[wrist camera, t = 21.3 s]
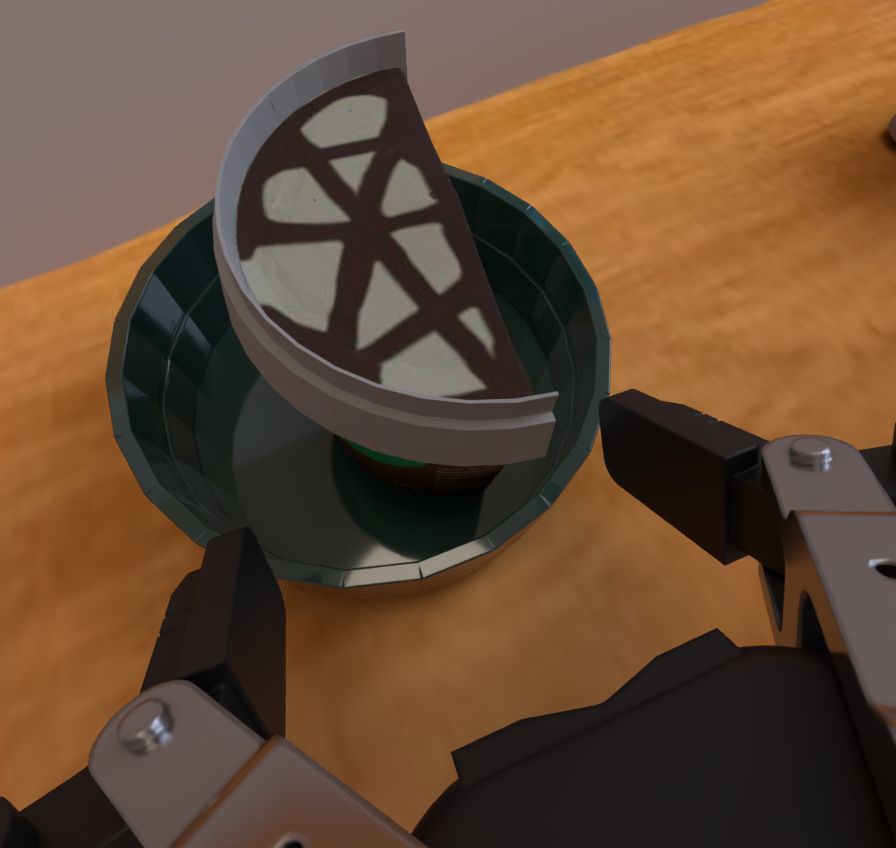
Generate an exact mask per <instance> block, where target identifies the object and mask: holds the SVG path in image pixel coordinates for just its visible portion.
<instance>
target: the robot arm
mask: <svg viewBox="0 0 896 848" xmlns="http://www.w3.org/2000/svg"><path fill="white" fill-rule="evenodd" d="M598 411H599V420H600V429H601V437H602V446H603V454H604V461H605V465H606V468H607V470H608V472H609V474H610V476H611V477H612V479H613V480H614V481H615V482H616V483H617V484H618V485H619V486H620V487H622V488H623V489H624V490H626V491H627V492H628V493H630V494H631V495H632V496H634V497H635V498H636V499H638V500H639V501H640V502H642V503H643V504H644V505H645V506H647V507H648V508H649V509H651V510H652V511H653V512H655V513H656V514H657V515H659V516H660V517H661V518H663V519H664V520H665V521H667V522H668V523H669V524H671V525H672V526H673V527H675V528H676V529H677V530H679V531H680V532H681V533H682V534H684V535H685V536H686V537H688V538H689V539H690V540H692V541H693V542H694V543H696V544H697V545H698V546H700V547H701V548H702V549H704V550H705V551H706V552H708V553H709V554H710V555H712V556H713V557H714V558H716V559H717V560H718V561H719V562H721V563H722V564H723V565H727V564H730V563H732V562H734V561H736V560H739V559H741V558H743V557H746V556H748V555H750V556H751V557H753V558H754V559H756V560H757V561H759V569H758V572H759V578H760V582H761V586H762V591H763V595H764V599H765V603H766V607H767V612H768V616H769V620H770V624H771V628H772V632H773V637H774V641H775V645H776V646H765V645H763V646H748V647H739V648H738V647H737V646H736V645H735V644H734V643H733V642H732V641H731V640H730V639H729V638H728V637H726V636H725V635H724V634H723V633H722V632H721V631H720V630H719V629H718V628H716V629H714V630H712V631H709V632H707V633H705V634H703V635H701V636H699V637H697V638H695V639H692V640H690V641H688V642H686V643H684V644H682V645H680V646H677V647H675V648H673V649H671V650H669V651H667V652H665V653H662V654H660V655H658V656H656V657H655V658H654V659H653V660H652V661H651V662H650V663H648V664H647V665H646V666H645V667H644V668H643V669H642V670H640V671H639V672H638V673H637V674H636V675H635V676H634V677H633V678H631V679H630V680H629V681H628V682H627V683H626V684H625V685H623V686H622V687H621V688H620V689H619V690H618V691H617V692H615V693H614V694H613V695H612V696H611V697H610V698H609V699H607V700H606V701H605V702H603V703H601V704H598V705H594V706H589V707H584V708H579V709H573V710H568V711H563V712H558V713H552V714H547V715H542V716H536V717H531V718H526V719H521V720H519V721H517V722H515V723H512V724H510V725H508V726H506V727H504V728H502V729H500V730H498V731H495V732H493V733H491V734H489V735H487V736H485V737H483V738H480V739H478V740H476V741H474V742H472V743H470V744H468V745H465V746H463V747H461V748H459V749H457V750H455V751H453V752H451V755H452V758H453V761H454V764H455V767H456V771H457V774H458V777H459V779H457V780H456V781H455V782H454V783H453V784H452V785H451V786H449V787H448V788H447V789H446V790H445V791H444V792H443V793H442V794H441V795H440V796H439V798H438V799H437V800H436V801H435V802H434V803H433V804H432V805H431V806H430V808H429V809H428V810H427V812H426V813H425V814H424V816H423V817H422V819H421V820H420V821H419V823H418V824H417V825H416V827H415V829H414V830H413V832H412V834H410V833H409V832H407V831H406V830H405V829H403V828H402V827H401V826H399V825H398V824H397V823H395V822H394V821H393V820H392V819H390V818H389V817H388V816H386V815H385V814H384V813H382V812H381V811H380V810H378V809H377V808H376V807H374V806H373V805H372V804H370V803H369V802H368V801H367V800H365V799H364V798H363V797H361V796H360V795H359V794H357V793H356V792H355V791H353V790H352V789H351V788H349V787H348V786H347V785H346V784H344V783H343V782H342V781H340V780H339V779H338V778H336V777H335V776H334V775H332V774H331V773H330V772H328V771H327V770H326V769H325V768H323V767H322V766H321V765H319V764H318V763H317V762H315V761H314V760H313V759H311V758H310V757H309V756H307V755H306V754H305V753H304V752H302V751H301V750H300V749H298V748H297V747H296V746H294V745H293V744H292V743H290V742H289V741H288V740H286V739H285V735H286V610H285V604H284V600H283V596H282V593H281V590H280V587H279V585H278V583H277V581H276V578H275V576H274V574H273V572H272V570H271V568H270V566H269V564H268V562H267V560H266V558H265V556H264V553H263V551H262V549H261V547H260V545H259V543H258V541H257V539H256V537H255V535H254V533H253V531H252V530H251V529H250V528H249V527H248V526H246V527H243V528H240V529H237V530H234V531H231V532H229V533H226V534H223V535H220V536H217V537H215V538H212V539H209V541H208V543H207V546H206V550H205V554H204V558H203V561H202V565H201V569H198V570H195V571H193V572H190V573H188V574H187V575H186V576H185V578H184V579H183V580H182V582H181V583H180V584H179V585H178V587H177V588H176V589H175V591H174V592H173V593H172V594H171V597H170V600H169V604H168V607H167V610H166V613H165V617H166V618H165V619H163V622H162V625H161V628H160V632H159V633H160V636H159V637H158V638H157V641H156V644H155V647H154V650H153V653H152V656H151V660H150V663H149V666H148V669H147V672H146V675H145V678H144V681H143V684H142V688H141V691H140V694H139V695H138V696H136V697H135V698H133V699H132V700H131V701H129V702H128V703H127V704H125V705H124V706H123V707H122V708H121V709H120V710H119V711H118V712H117V713H116V714H115V715H114V716H113V717H112V718H111V719H110V720H109V721H108V722H107V724H106V725H105V726H104V727H103V729H102V730H101V732H100V733H99V735H98V736H97V738H96V740H95V742H94V744H93V746H92V748H91V751H90V754H89V760H88V766H87V767H85V768H84V769H83V770H81V771H80V772H79V773H77V774H76V775H74V776H73V777H72V778H70V779H69V780H67V781H65V782H64V783H62V784H61V785H59V786H58V787H56V788H55V789H53V790H52V791H50V792H49V793H47V794H46V795H44V796H43V797H41V798H40V799H38V800H37V801H35V802H34V803H32V804H31V805H29V806H28V807H26V808H25V809H23V810H22V811H20V812H19V811H18V810H17V809H16V808H15V807H14V806H13V805H12V804H11V803H10V802H9V801H8V800H7V799H5V798H4V797H0V848H896V423H895V428H894V434H893V441H892V445H888V446H882V447H876V448H870V449H863V450H857V449H856V448H854V447H853V446H852V445H850V444H848V443H846V442H843V441H841V440H838V439H834V438H830V437H825V436H819V435H790V436H784V437H780V438H777V439H774V440H772V441H767V440H765V439H763V438H760V437H758V436H756V435H753V434H751V433H749V432H746V431H744V430H742V429H739V428H737V427H735V426H732V425H730V424H728V423H725V422H723V421H719V422H718V420H717V419H716V418H714V417H711V416H709V415H707V414H705V415H703V414H702V412H700V411H697V410H695V409H693V408H690V407H688V406H686V405H683V404H677V403H671V402H665V401H660V400H658V399H656V398H654V397H651V396H649V395H647V394H645V393H642V392H640V391H638V390H635V389H629V390H627V391H624V392H621V393H618V394H615V395H612V396H610V397H607V398H604V399H602V400H601V401H600V403H599V407H598Z"/></svg>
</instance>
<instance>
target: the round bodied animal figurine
mask: <svg viewBox="0 0 896 848" xmlns="http://www.w3.org/2000/svg"><path fill="white" fill-rule="evenodd" d="M889 133H890V135H891V137H892V138H893V140H894V141H895V142H896V114H895V115H894V116H893V118H892V119H891V121H890V123H889Z"/></svg>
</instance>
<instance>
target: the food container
mask: <svg viewBox="0 0 896 848" xmlns="http://www.w3.org/2000/svg"><path fill="white" fill-rule="evenodd" d="M213 241H214V253H215V258H216V262H217V267H218V271H219V276H220V280H221V285H222V289H223V294H224V298H225V301H226V305H227V309H228V312H229V316H230V320H231V323H232V326H233V328H234V330H235V332H236V334H237V336H238V338H239V340H240V342H241V344H242V346H243V348H244V350H245V352H246V354H247V356H248V357H249V359H250V360H251V361H252V363H253V364H254V365H255V367H256V368H257V369H258V370H259V372H260V373H261V374H262V376H263V377H264V378H265V379H266V381H267V382H268V383H269V385H270V386H271V387H272V388H274V389H275V390H276V391H277V392H278V393H279V394H280V395H281V396H282V397H284V398H285V399H286V400H287V401H288V402H289V403H290V404H291V405H292V406H294V407H295V408H296V409H297V410H298V411H299V412H301V413H302V414H304V415H305V416H307V417H309V418H310V419H312V420H313V421H315V422H316V423H318V424H320V425H321V426H323V427H324V428H326V429H328V430H329V431H331V432H332V433H334V434H335V435H336V436H337V438H338V439H339V441H340V442H341V444H342V445H343V446H344V448H345V449H346V450H347V451H348V452H349V454H350V455H351V456H352V457H353V459H354V460H355V461H357V462H358V463H359V464H360V465H361V466H362V467H364V468H365V469H366V470H367V471H368V472H370V473H371V474H373V475H375V476H376V477H378V478H379V479H381V480H383V481H384V482H387V483H389V484H391V485H394V486H396V487H399V488H401V489H404V490H408V491H412V492H416V493H420V494H427V495H438V496H451V495H465V494H469V493H474V492H479V491H483V490H486V488H487V487H488V486H489V485H490V483H491V482H492V481H493V480H494V479H495V477H496V476H497V475H498V474H499V473H500V471H501V470H502V469H503V468H504V467H505V465H506V464H511V463H516V462H521V461H527V460H532V459H537V458H542V457H546V453H547V450H548V446H549V443H550V440H551V436H552V433H553V429H554V426H555V423H556V420H555V417H554V415H553V413H552V409H553V407H554V405H555V403H556V401H557V398H558V396H559V394H558V391H557V392H551V393H545V394H539V395H534V392H533V390H532V388H531V384H530V380H529V376H528V373H527V372H526V370H525V369H524V367H523V365H522V364H521V362H520V360H519V358H518V356H517V353H516V351H515V349H514V347H513V345H512V342H511V340H510V337H509V334H508V332H507V329H506V327H505V324H504V322H503V319H502V316H501V314H500V311H499V309H498V306H497V304H496V301H495V298H494V295H493V293H492V290H491V287H490V285H489V282H488V279H487V276H486V274H485V271H484V268H483V266H482V263H481V260H480V257H479V254H478V251H477V248H476V245H475V242H474V239H473V236H472V233H471V230H470V228H469V225H468V222H467V219H466V216H465V213H464V210H463V208H462V205H461V202H460V199H459V197H458V195H457V193H456V191H455V189H454V187H453V184H452V182H451V180H450V178H449V176H448V174H447V172H446V171H445V169H444V167H443V165H442V163H441V161H440V159H439V156H438V154H437V152H436V150H435V148H434V146H433V144H432V141H431V139H430V137H429V134H428V132H427V130H426V127H425V125H424V122H423V120H422V117H421V115H420V112H419V110H418V107H417V105H416V103H415V100H414V98H413V95H412V93H411V90H410V88H409V85H408V83H407V66H406V48H405V32H404V30H400V31H395V32H390V33H384V34H379V35H374V36H371V37H368V38H364V39H361V40H358V41H354V42H351V43H348V44H345V45H342V46H340V47H338V48H335V49H333V50H331V51H329V52H326V53H324V54H322V55H319V56H317V57H315V58H313V59H312V60H310V61H308V62H307V63H305V64H303V65H302V66H300V67H298V68H297V69H295V70H294V71H292V72H290V73H289V74H287V75H286V76H285V77H284V78H282V79H281V80H280V81H279V82H277V83H276V84H275V85H274V86H273V87H271V88H270V89H269V90H268V91H266V92H265V93H264V95H263V96H262V97H261V98H260V99H259V100H258V101H257V102H256V103H255V104H254V106H253V107H252V108H251V109H250V110H249V111H248V112H247V113H246V114H245V116H244V118H243V119H242V121H241V122H240V124H239V126H238V127H237V129H236V130H235V132H234V134H233V135H232V137H231V139H230V140H229V143H228V146H227V148H226V151H225V154H224V156H223V159H222V161H221V164H220V167H219V172H218V179H217V185H216V191H215V207H214V213H213Z"/></svg>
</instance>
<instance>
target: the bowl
mask: <svg viewBox="0 0 896 848" xmlns="http://www.w3.org/2000/svg"><path fill="white" fill-rule="evenodd" d="M442 165H443V167H444V169H445V171H446V172H447V174H448V176H449V178H450V180H451V182H452V184H453V187H454V189H455V191H456V193H457V195H458V197H459V199H460V202H461V205H462V208H463V210H464V213H465V216H466V219H467V222H468V225H469V228H470V230H471V233H472V236H473V239H474V242H475V245H476V248H477V251H478V254H479V257H480V260H481V263H482V266H483V268H484V271H485V274H486V276H487V279H488V282H489V285H490V287H491V290H492V293H493V295H494V298H495V301H496V304H497V306H498V309H499V311H500V314H501V316H502V319H503V322H504V324H505V327H506V329H507V332H508V334H509V337H510V340H511V342H512V345H513V347H514V349H515V351H516V353H517V356H518V358H519V360H520V362H521V364H522V365H523V367H524V369H525V370H526V372H527V373H528V376H529V380H530V384H531V388H532V390H533V392H534V395H539V394H545V393H551V392H557V391H558V394H559V396H558V398H557V401H556V403H555V405H554V407H553V409H552V413H553V415H554V417H555V420H556V423H555V426H554V429H553V433H552V436H551V440H550V443H549V446H548V450H547V453H546V457H542V458H537V459H532V460H527V461H521V462H516V463H511V464H506V465H505V467H504V468H503V469H502V470H501V471H500V473H499V474H498V475H497V476H496V477H495V479H494V480H493V481H492V482H491V483H490V485H489V486H488V487H487V488H486V490H483V491H479V492H474V493H469V494H465V495H451V496H438V495H427V494H420V493H416V492H412V491H408V490H404V489H401V488H399V487H396V486H394V485H391V484H389V483H387V482H384V481H383V480H381V479H379V478H378V477H376V476H375V475H373V474H371V473H370V472H368V471H367V470H366V469H365V468H364V467H362V466H361V465H360V464H359V463H358V462H357V461H355V460H354V459H353V457H352V456H351V455H350V454H349V452H348V451H347V450H346V449H345V448H344V446H343V445H342V444H341V442H340V441H339V439H338V438H337V436H336V435H335V434H334V433H332V432H331V431H329V430H328V429H326V428H324V427H323V426H321V425H320V424H318V423H316V422H315V421H313V420H312V419H310V418H309V417H307V416H305V415H304V414H302V413H301V412H299V411H298V410H297V409H296V408H295V407H294V406H292V405H291V404H290V403H289V402H288V401H287V400H286V399H285V398H284V397H282V396H281V395H280V394H279V393H278V392H277V391H276V390H275V389H274V388H272V387H271V386H270V385H269V383H268V382H267V381H266V379H265V378H264V377H263V376H262V374H261V373H260V372H259V370H258V369H257V368H256V367H255V365H254V364H253V363H252V361H251V360H250V359H249V357H248V356H247V354H246V352H245V350H244V348H243V346H242V344H241V342H240V340H239V338H238V336H237V334H236V332H235V330H234V328H233V326H232V323H231V320H230V316H229V312H228V309H227V305H226V301H225V298H224V294H223V289H222V285H221V280H220V276H219V271H218V267H217V262H216V258H215V253H214V241H213V213H214V207H215V198H214V199H212V200H211V201H210V202H208V203H207V204H205V205H204V206H203V207H201V208H200V209H199V210H197V211H196V212H195V213H193V214H192V215H190V216H189V217H188V218H186V219H185V220H184V221H182V222H181V223H179V224H178V226H176V227H175V228H174V229H173V230H172V231H171V233H170V234H169V235H168V236H167V237H166V238H165V240H164V241H163V242H162V243H161V244H160V245H159V247H158V248H157V249H156V250H155V251H154V252H153V254H152V255H151V256H150V257H149V258H148V259H147V260H146V262H145V263H144V264H143V265H142V266H141V268H140V270H139V271H138V273H137V275H136V277H135V279H134V282H133V284H132V286H131V288H130V290H129V292H128V294H127V296H126V298H125V300H124V302H123V304H122V306H121V308H120V310H119V312H118V314H117V316H116V318H115V320H116V321H115V322H114V327H113V333H112V339H111V345H110V351H109V357H108V364H107V370H106V376H105V377H106V379H105V381H106V388H107V394H108V400H109V407H110V413H111V419H112V426H113V432H114V437H115V440H116V442H117V444H118V446H119V448H120V450H121V452H122V453H123V455H124V457H125V459H126V461H127V463H128V465H129V467H130V468H131V470H132V472H133V474H134V476H135V478H136V480H137V482H138V483H139V485H140V487H141V489H142V491H143V493H144V495H146V497H147V498H148V499H149V500H150V501H151V502H152V503H153V504H154V505H155V506H156V507H157V508H158V509H159V510H160V511H162V512H163V513H164V514H165V515H166V516H167V517H168V518H169V519H170V520H171V521H172V522H173V523H174V524H175V525H176V526H177V527H179V528H180V529H181V530H182V531H183V532H184V533H185V534H186V535H187V536H188V537H189V538H190V539H191V540H192V541H193V542H195V543H197V544H198V545H199V546H201V547H203V548H205V549H206V546H207V543H208V541H209V539H212V538H215V537H217V536H220V535H223V534H226V533H229V532H231V531H234V530H237V529H240V528H243V527H246V526H248V527H249V528H250V529H251V530H252V531H253V533H254V535H255V537H256V539H257V541H258V543H259V545H260V547H261V549H262V551H263V553H264V556H265V558H266V560H267V562H268V564H269V566H270V568H271V570H272V572H273V574H274V576H275V578H276V581H277V582H280V583H283V584H286V585H288V586H291V587H294V588H296V589H299V590H302V591H305V592H310V593H316V594H322V595H329V596H335V597H341V598H347V599H353V600H360V601H362V600H364V601H367V600H376V599H384V598H393V597H401V596H410V595H418V594H422V593H427V592H429V591H431V590H434V589H436V588H439V587H441V586H444V585H446V584H449V583H451V582H454V581H456V580H458V579H461V578H463V577H466V576H468V575H471V574H473V573H476V572H477V571H478V570H480V569H482V568H483V567H484V566H486V565H487V564H488V563H489V562H491V561H492V560H493V559H495V558H496V557H497V556H498V555H500V554H501V553H502V552H504V551H505V550H506V549H507V548H509V547H510V546H511V545H513V544H514V543H515V542H516V541H518V540H519V539H520V538H521V537H522V536H523V535H524V534H525V533H526V532H527V531H528V530H529V529H530V528H531V527H532V526H533V525H534V524H535V523H536V522H537V521H538V520H539V519H540V518H541V517H542V516H543V515H544V514H545V513H546V512H547V511H548V509H549V508H550V507H551V506H552V505H553V504H554V503H555V501H556V500H557V498H558V497H559V496H560V494H561V493H562V492H563V490H564V489H565V487H566V486H567V485H568V483H569V482H570V480H571V479H572V478H573V476H574V475H575V474H576V472H577V471H578V469H579V468H580V467H581V465H582V464H583V463H584V461H585V460H586V458H587V457H588V456H589V453H590V452H591V450H592V447H593V444H594V441H595V438H596V435H597V432H598V429H599V426H600V420H599V411H598V407H599V403H600V401H601V400H602V399H604V398H607V397H609V395H610V370H611V336H610V332H609V329H608V325H607V322H606V318H605V314H604V311H603V307H602V304H601V300H600V297H599V293H598V289H597V287H596V285H595V283H594V281H593V280H592V278H591V276H590V275H589V273H588V272H587V270H586V268H585V267H584V265H583V263H582V262H581V260H580V258H579V257H578V255H577V254H576V252H575V250H574V249H573V247H572V245H571V244H570V243H569V241H568V240H567V239H566V238H565V237H564V236H563V235H562V234H561V233H560V232H559V231H558V230H557V229H556V228H554V227H553V226H552V225H551V224H550V223H549V222H548V221H547V220H546V219H545V218H544V217H543V216H542V215H541V214H540V213H539V212H538V211H537V210H536V209H535V208H534V207H533V206H531V205H530V204H528V203H527V202H525V201H523V200H522V199H520V198H518V197H517V196H515V195H513V194H512V193H510V192H509V191H507V190H505V189H504V188H502V187H500V186H499V185H497V184H495V183H494V182H492V181H490V180H489V179H486V178H484V177H481V176H478V175H476V174H473V173H470V172H467V171H464V170H461V169H458V168H456V167H453V166H450V165H447V164H444V163H442Z"/></svg>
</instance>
